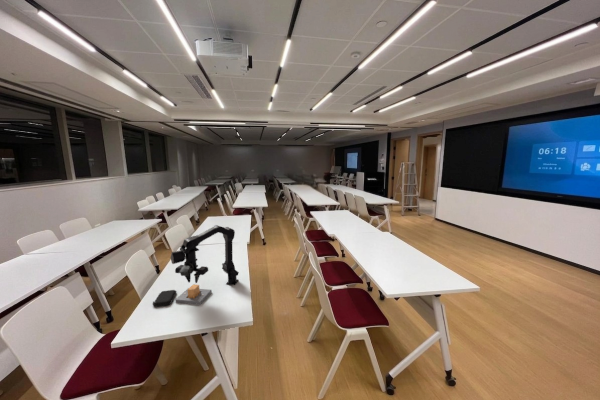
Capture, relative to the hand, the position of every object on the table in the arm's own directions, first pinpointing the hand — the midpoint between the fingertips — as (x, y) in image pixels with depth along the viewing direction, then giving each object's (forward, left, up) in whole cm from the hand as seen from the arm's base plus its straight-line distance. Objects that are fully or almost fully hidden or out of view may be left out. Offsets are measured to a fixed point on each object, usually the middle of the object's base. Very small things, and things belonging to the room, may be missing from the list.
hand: (192, 282), depth 145 cm
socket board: (0, 0, -10) cm, 10 cm away
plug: (0, 0, -10) cm, 10 cm away
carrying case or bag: (+5, -16, -11) cm, 20 cm away
